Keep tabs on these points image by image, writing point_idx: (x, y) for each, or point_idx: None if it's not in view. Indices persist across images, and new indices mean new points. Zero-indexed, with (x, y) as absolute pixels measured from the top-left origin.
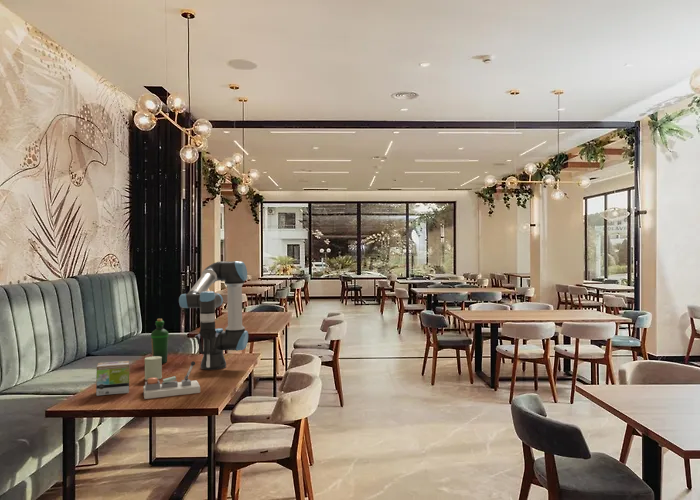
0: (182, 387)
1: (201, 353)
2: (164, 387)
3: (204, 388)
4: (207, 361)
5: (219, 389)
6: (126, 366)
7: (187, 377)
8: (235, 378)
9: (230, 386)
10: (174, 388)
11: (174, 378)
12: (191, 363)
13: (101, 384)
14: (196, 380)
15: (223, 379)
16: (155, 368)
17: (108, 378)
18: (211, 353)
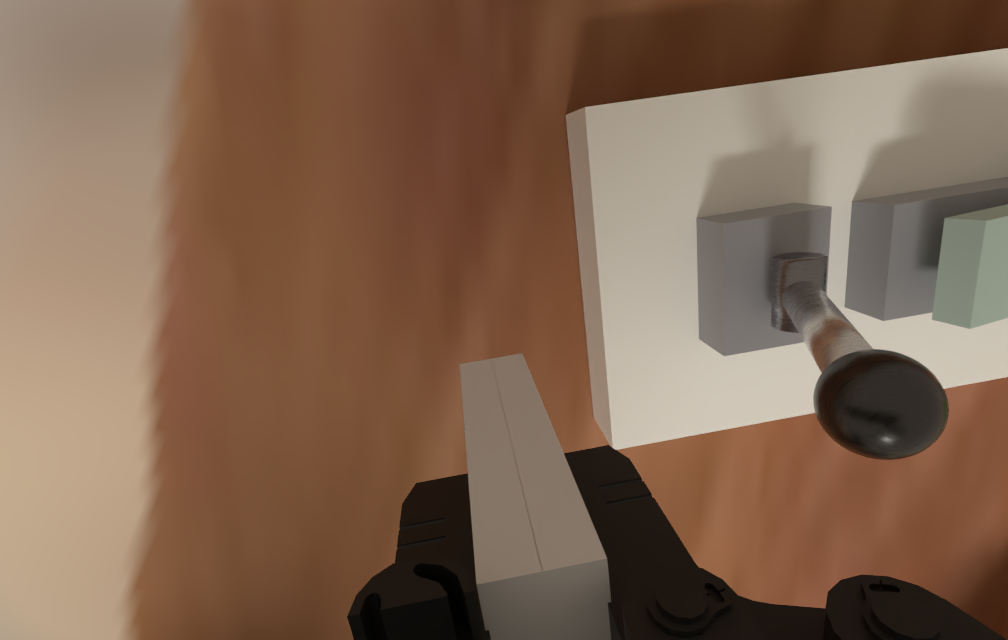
0: (805, 135)
1: (907, 589)
2: (1003, 179)
3: (515, 295)
4: (533, 420)
5: (337, 195)
6: None
7: (796, 270)
8: (190, 620)
9: (207, 301)
10: (899, 116)
11: (990, 216)
12: (927, 368)
13: None
14: (616, 440)
15: (321, 605)
16: None
17: None
18: (393, 620)
